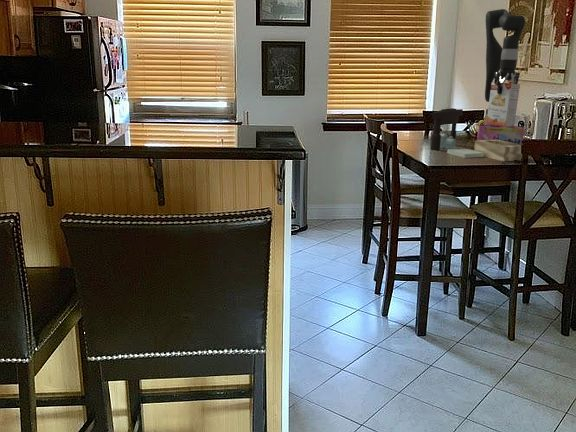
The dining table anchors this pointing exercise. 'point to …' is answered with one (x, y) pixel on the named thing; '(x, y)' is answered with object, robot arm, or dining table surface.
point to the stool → (442, 119)
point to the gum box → (501, 133)
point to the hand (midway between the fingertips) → (504, 93)
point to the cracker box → (503, 105)
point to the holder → (499, 149)
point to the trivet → (465, 153)
